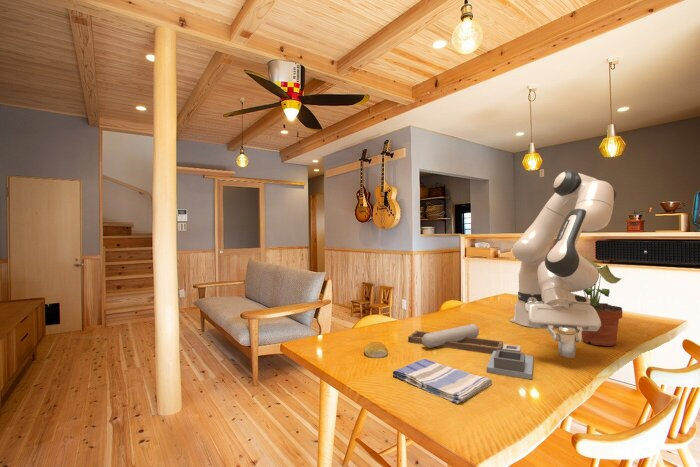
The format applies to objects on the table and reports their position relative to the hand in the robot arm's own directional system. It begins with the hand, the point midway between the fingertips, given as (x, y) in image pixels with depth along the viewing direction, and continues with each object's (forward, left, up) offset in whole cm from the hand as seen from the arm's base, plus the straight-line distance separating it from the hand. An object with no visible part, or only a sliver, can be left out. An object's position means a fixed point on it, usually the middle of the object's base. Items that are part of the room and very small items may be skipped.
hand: (567, 340), depth 105 cm
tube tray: (-7, -36, -8) cm, 37 cm away
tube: (-7, -38, -8) cm, 39 cm away
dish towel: (+27, -32, -9) cm, 43 cm away
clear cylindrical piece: (-1, 0, -5) cm, 5 cm away
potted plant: (-30, +11, -8) cm, 33 cm away
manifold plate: (+7, -16, -8) cm, 19 cm away
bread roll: (+15, -58, -8) cm, 61 cm away
